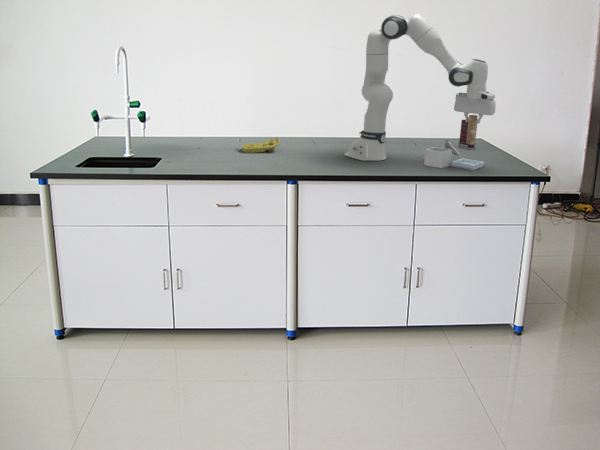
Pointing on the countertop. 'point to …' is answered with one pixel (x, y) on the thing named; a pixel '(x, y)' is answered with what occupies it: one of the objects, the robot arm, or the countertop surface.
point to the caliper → (451, 147)
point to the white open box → (438, 157)
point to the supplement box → (465, 136)
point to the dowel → (471, 129)
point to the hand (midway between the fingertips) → (472, 122)
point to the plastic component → (260, 146)
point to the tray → (467, 164)
